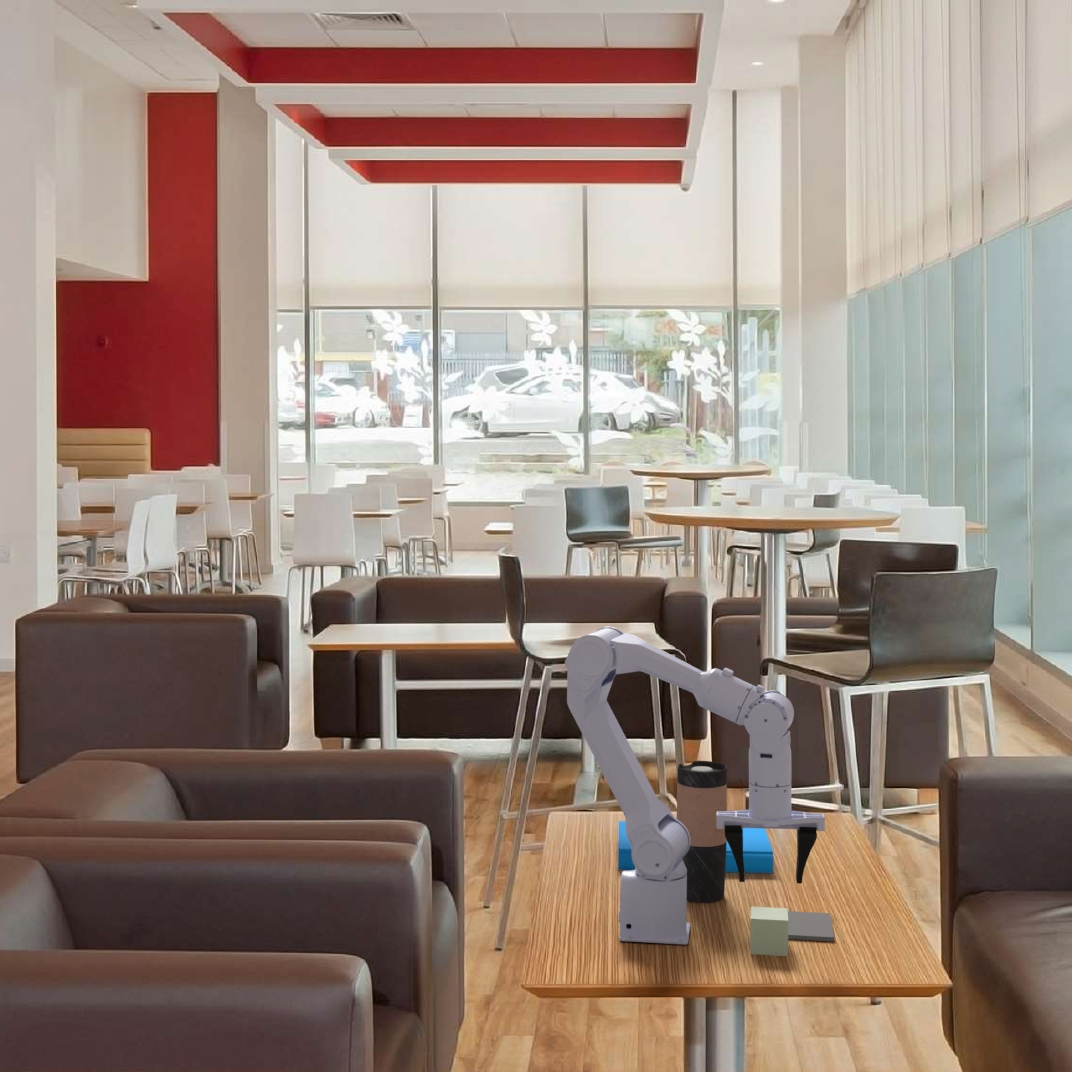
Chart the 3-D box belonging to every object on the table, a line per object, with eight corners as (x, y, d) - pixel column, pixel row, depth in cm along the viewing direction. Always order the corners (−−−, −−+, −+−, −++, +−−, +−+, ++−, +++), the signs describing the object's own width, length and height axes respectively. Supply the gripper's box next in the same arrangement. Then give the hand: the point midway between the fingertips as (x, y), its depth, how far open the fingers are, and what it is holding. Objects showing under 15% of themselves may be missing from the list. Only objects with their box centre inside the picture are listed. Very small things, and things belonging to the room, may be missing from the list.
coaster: (761, 937, 200) (761, 933, 200) (760, 913, 210) (760, 909, 210) (834, 941, 198) (834, 937, 198) (830, 917, 208) (830, 913, 208)
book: (617, 821, 247) (763, 821, 245) (617, 845, 247) (763, 845, 246) (618, 849, 229) (774, 850, 228) (618, 876, 230) (774, 876, 229)
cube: (750, 954, 194) (750, 918, 193) (750, 941, 199) (750, 906, 198) (787, 956, 193) (788, 920, 192) (786, 943, 198) (787, 908, 197)
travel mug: (724, 905, 213) (725, 773, 212) (673, 901, 215) (674, 770, 213) (727, 889, 221) (729, 761, 219) (678, 885, 222) (679, 759, 221)
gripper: (715, 788, 191) (716, 888, 192) (826, 790, 189) (826, 891, 190) (716, 776, 198) (717, 872, 199) (822, 778, 196) (823, 875, 197)
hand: (770, 880), depth 195 cm, fingers open, 7 cm apart
